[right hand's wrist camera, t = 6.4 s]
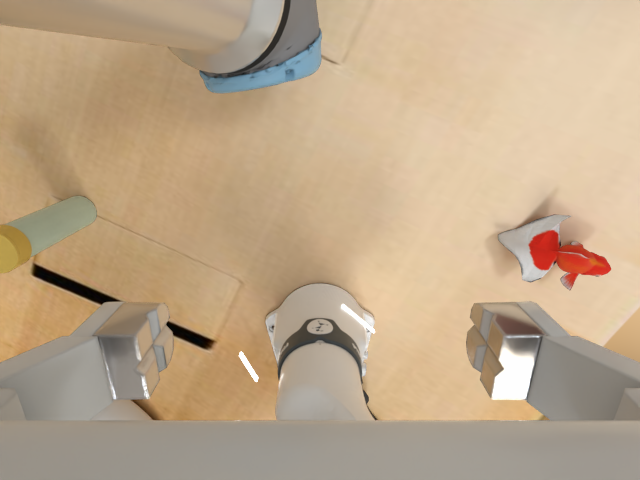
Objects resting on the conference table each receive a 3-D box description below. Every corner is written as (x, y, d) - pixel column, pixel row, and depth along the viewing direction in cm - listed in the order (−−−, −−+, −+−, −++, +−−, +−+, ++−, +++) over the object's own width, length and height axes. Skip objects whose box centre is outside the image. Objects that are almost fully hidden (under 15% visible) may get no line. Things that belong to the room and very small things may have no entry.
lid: (-4, 215, 44) (-21, 222, 42) (39, 241, 45) (25, 249, 43) (-20, 248, 45) (-38, 256, 43) (21, 272, 47) (7, 281, 44)
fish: (564, 314, 60) (598, 316, 50) (476, 258, 64) (492, 250, 54) (602, 259, 60) (643, 251, 51) (512, 207, 64) (534, 189, 55)
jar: (73, 189, 58) (-16, 223, 42) (102, 208, 59) (25, 247, 43) (60, 213, 59) (-31, 254, 44) (88, 230, 60) (9, 277, 45)
